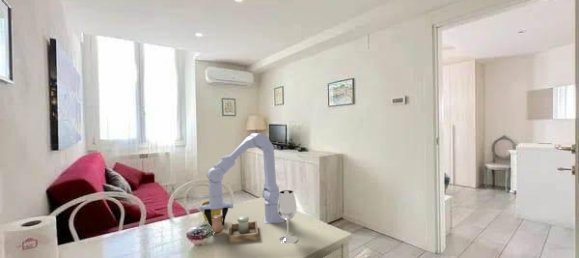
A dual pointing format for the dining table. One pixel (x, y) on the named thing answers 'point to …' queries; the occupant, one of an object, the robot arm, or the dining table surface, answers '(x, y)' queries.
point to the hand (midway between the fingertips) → (217, 225)
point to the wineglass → (287, 212)
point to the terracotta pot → (217, 223)
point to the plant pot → (213, 212)
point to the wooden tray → (241, 237)
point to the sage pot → (243, 224)
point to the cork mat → (220, 232)
